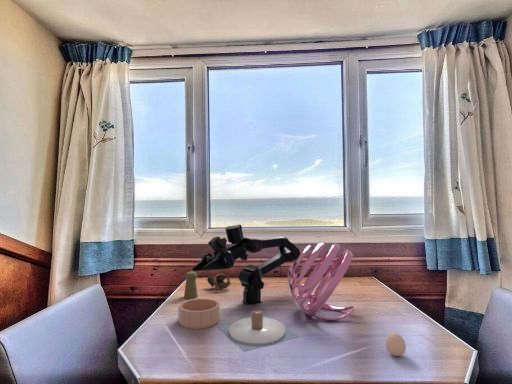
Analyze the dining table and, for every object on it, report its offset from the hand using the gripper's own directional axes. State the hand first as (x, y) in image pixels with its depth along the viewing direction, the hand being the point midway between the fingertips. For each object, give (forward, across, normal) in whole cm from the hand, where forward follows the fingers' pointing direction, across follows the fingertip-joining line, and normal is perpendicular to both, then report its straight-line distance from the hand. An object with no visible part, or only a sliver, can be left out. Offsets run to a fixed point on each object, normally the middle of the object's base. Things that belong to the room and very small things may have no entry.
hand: (197, 269), depth 113 cm
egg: (-22, +53, +36) cm, 68 cm away
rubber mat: (-3, +20, +24) cm, 31 cm away
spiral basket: (-31, +20, +31) cm, 49 cm away
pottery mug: (-20, -30, +18) cm, 40 cm away
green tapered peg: (-5, -27, +14) cm, 31 cm away
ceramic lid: (-3, +20, +23) cm, 30 cm away
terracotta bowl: (+6, 0, +17) cm, 18 cm away
